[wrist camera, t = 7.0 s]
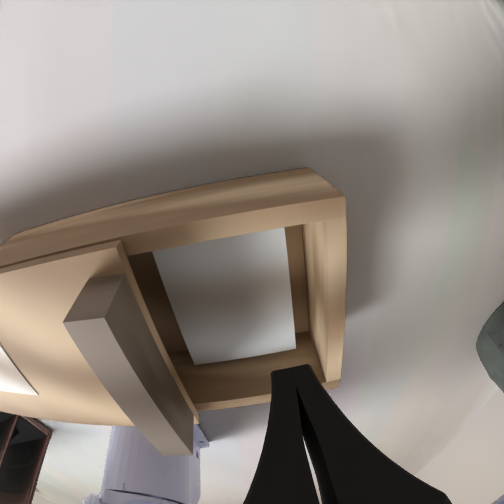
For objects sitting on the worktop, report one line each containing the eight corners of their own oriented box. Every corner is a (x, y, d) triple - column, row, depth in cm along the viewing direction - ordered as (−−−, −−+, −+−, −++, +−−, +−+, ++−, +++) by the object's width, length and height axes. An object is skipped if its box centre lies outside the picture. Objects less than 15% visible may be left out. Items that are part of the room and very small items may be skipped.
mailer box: (318, 330, 20) (339, 386, 15) (81, 361, 20) (63, 411, 15) (308, 167, 15) (345, 196, 10) (15, 234, 15) (-30, 274, 10)
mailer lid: (199, 415, 15) (198, 462, 12) (-5, 404, 15) (-17, 432, 12) (120, 239, 10) (90, 288, 7) (-82, 292, 10) (-105, 318, 7)
